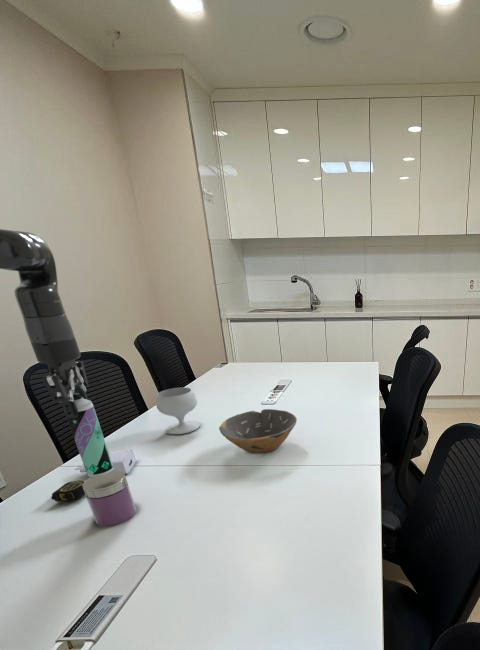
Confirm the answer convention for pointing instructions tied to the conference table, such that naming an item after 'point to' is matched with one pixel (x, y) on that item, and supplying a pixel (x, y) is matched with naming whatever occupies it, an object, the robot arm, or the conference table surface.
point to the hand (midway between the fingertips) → (79, 412)
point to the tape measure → (69, 491)
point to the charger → (119, 461)
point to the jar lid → (104, 484)
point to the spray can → (90, 439)
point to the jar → (113, 507)
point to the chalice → (177, 408)
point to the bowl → (258, 430)
